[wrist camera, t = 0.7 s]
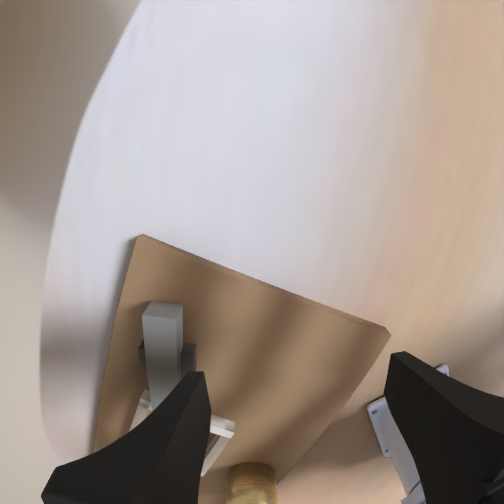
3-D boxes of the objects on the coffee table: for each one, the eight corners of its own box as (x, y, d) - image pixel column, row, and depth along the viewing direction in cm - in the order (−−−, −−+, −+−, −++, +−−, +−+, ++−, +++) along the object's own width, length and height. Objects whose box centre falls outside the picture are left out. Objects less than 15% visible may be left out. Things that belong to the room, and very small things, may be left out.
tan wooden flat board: (385, 327, 21) (404, 352, 18) (243, 509, 28) (243, 532, 24) (143, 233, 19) (122, 247, 16) (95, 463, 26) (85, 486, 23)
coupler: (240, 455, 23) (239, 520, 16) (285, 465, 24) (292, 527, 17) (219, 480, 24) (214, 538, 18) (260, 490, 25) (262, 545, 18)
